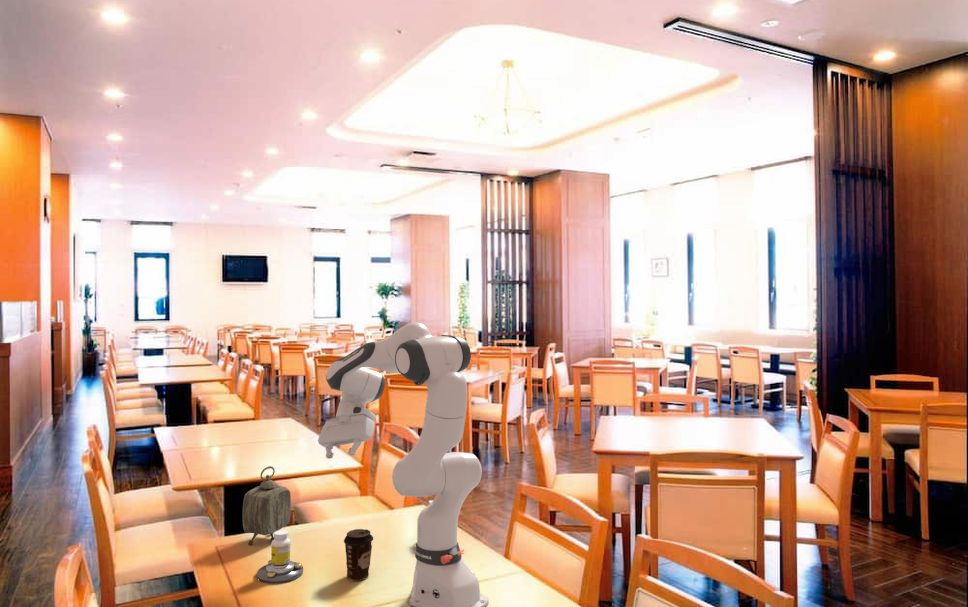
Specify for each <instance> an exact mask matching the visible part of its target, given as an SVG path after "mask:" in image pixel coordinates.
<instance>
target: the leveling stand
mask: <svg viewBox="0 0 968 607" xmlns="http://www.w3.org/2000/svg"><path fill="white" fill-rule="evenodd" d="M303 574H304V566H303V564H302V562H295V561H293V560H290V565H289V566H287V567H285V568H274V567H272V565H271V559H269V560H267V564H265V565H263V566H261V567H260V568H259V569H258V570H257V572H256V577H257V580H258V579H259V580H258V581H260V582H262V583H265V582H266V583H265V584H283V583H284V582H285V583H288V582H292V581H294V580H297V579H299V578H300V577H301V576H303ZM285 583H284V584H285Z"/></svg>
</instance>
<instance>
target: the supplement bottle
mask: <svg viewBox="0 0 968 607" xmlns="http://www.w3.org/2000/svg"><path fill="white" fill-rule="evenodd" d="M273 537H274V538H275V539H274V540H273V541H272V542H271V543H270V544H271V547H270V548H271V549H270V550H271V554H270V556H271V559H270V560H271V565H272V567H274V568H285V567H287V566H289V565H290V561H291V539H290V538H289V531H288V530H286V529H280V530H278V531H276V532H274V533H273Z"/></svg>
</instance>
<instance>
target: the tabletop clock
mask: <svg viewBox="0 0 968 607" xmlns="http://www.w3.org/2000/svg"><path fill="white" fill-rule="evenodd" d="M269 469H272V473H271V475H269V474H267V475H266V476H265V477H263V474H264V472H265V471H266V470H269ZM275 472H276V471H275V467H274V466H266V467H264V468H263V469H262V471H261V473H260V479H261V480H262V481H261V482H260V484H259V486H255V487H254V488H252V489H250V490H249V491H247V492H246V493H245V494H244V498H243V502H242V516H241V517H242V526H243V532H244V533H249V534H253V536H252V538H251V539H250V540H248V542H247V544H248V546H252V545H253V544H254V540H255V538H256V537H257V536H258V535H262V536H268V535H270V539H269V541H270V542H271V543H272V541H273V540H274V539H275V538H274V532H276V531H279V530H283V528H285V527H287V526H288V525H289V523H290V520H291V514H292V512H291V509H292V502H291V497H292V496H291V492H290V490H289V489H288V487H286V486H281V485H276V483H275V481H273V480H271V478H273V477H274V475H275Z"/></svg>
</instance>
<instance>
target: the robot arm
mask: <svg viewBox="0 0 968 607" xmlns="http://www.w3.org/2000/svg"><path fill="white" fill-rule="evenodd" d="M471 353H472V352H471V349H470V345H469V344H468V342H467V341H466V339H464V338H462V337H460V336H455V335H446V334H442V335H440V336H433V335H432V333H431V331H430V330H429V328H428V327H427V326H425V325H424V324H423V323H420V322H417V321H416V322H415V321H413V322H409V323H407V324H404V325H403V326H402V327H400V328H398V329H397V330H396V331H395V332H393V333H392V334H391V335H390V336H389V337H387V338H384V339H382V340H376V341H371V342H370V341H369V342H367V343H365V344H363V345H361V346H359V347H358V348H356V349H354V350H353V351H352V352H350V353H348V354H346V355H345V356H343V357H340V358H338V359H336V360H334V361H333V362H332V363H331V364H330V365H329V367H328V369H327V372H326V374H325V380H326V382H327V384H328V386H329V387H330V389H332V390H334V391H339V392H341V399H340V401H339V403H338V406H337V410H336V415H335V418H329V419H328V420H327V421H326V422H325V423H324V425H323V426H322V428H321V431H320V434H319V437H318V439H317V442H318V445H320V446H322V447H323V448H325V451H326V453H325V458H326V459H328V460H331V459H333V458H334V455H335V453H333V452H332V449H334V447H337V446H343V445H349V444H352V446H351V447H350V448H348V452H347V454H348V455H349V456H356V453H357V450H358V449H359V447H360V446H362V442H363V443H364V442H370V440H371V439H372V437H373V435H374V432H375V427H376V426H375V424H376V423H375V421H376V420H377V415H376V414H375V413H374V412H372V411H371V410H370V409H368V408H367V404H368V403H373V402H375V401H378V400H379V399H381V397H382V396H383V394H384V390H385V387H386V386H385V385H386V381H385V378H384V376H383V374H382V373H380V372H378V371H376V370H380V371H384V372H387V373H391V374H399V375H401V376H402V377H403V378H405V379H406V380H409V381H411V382H412V383H413V384H414V385H415V386H423V384H425V386H426V389H427V398H426V405H425V411H424V418H423V423H422V424H423V425H422V428H421V432H420V435H419V438H418V439H417V441H416V444H415V445H414V446H413V448H412V449H411V450H410V451H409V452H408V453H407V454H406V455H405V456H403V457H402V458H401V459H399V460H398V461H397V462H396V463H395V465H394V468H393V470H392V474H391V475H392V476H391V481H392V484H393V488H394V490H395V491H396V492H397V493H398V495H400V496H402V497H410V498H411V497H412V498H421V497H429V496H435V497H434V498H433V499H432V500H433V501H432V503H431V504H430V505H429V504H427V506H425V507H424V508H423V509H422V510H421V511H420V512H419V515H418V516H417V529H416V530H417V531H416V532H417V534H416V535H417V537H416V539H417V540H416V541H417V542H416V543H415V549H414V554H415V555H414V556H415V559H416V562H415V568H414V572H413V581H412V588H411V590H410V598H409V605H410V606H412V607H485V606H486V605H487V606H488V604H489V598H488V597H487V596H486V595H484V594H482V593H481V589H480V581H479V578H478V577H477V576H476V574H475V572H474V571H473V570H472V571H471V568H469V566H468V565H467V564H466V563H465V562H464V560H463V559H462V555H464V554H465V549H461V548H460V546H459V542H458V522H459V516H460V511H461V509H462V507H463V504H464V502H465V500H466V499H467V497H468V496H469V494H470V493H472V491H473V490H474V489H475V488H476V487H477V486H478V485H479V484H480V482H481V479H482V474H483V468H482V467H483V466H482V464H481V461H480V460H479V458H478V457H477V456H476V455H475V454H474V453H472V452H471V453H470V452H466V451H465V452H464V451H463V452H462V451H452V452H451V451H450V450H452V449H453V448H455V447H456V446H457V445H458V444H460V442H461V441H462V439H463V437H464V432H465V423H466V417H467V410H468V385H467V384H468V383H467V379H466V378H465V376H464V374H462V373H461V372H462V371H464V370H466V369H467V368H468V367H469V365H470V363H471V357H472V354H471ZM373 369H376V370H373ZM487 606H486V607H487Z"/></svg>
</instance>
